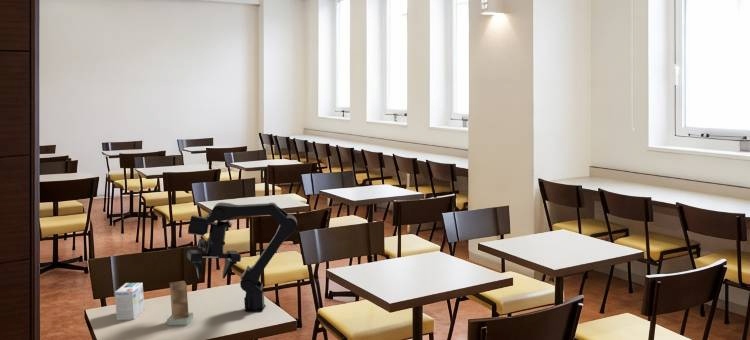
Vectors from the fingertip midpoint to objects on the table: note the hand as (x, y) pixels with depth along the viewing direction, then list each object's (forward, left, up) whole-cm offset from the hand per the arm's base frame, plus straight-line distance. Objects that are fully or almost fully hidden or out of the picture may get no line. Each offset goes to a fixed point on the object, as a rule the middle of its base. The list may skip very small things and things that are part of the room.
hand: (211, 278), depth 253 cm
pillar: (+9, +10, -11) cm, 17 cm away
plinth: (+9, +10, -13) cm, 19 cm away
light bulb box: (+30, +3, -13) cm, 33 cm away
